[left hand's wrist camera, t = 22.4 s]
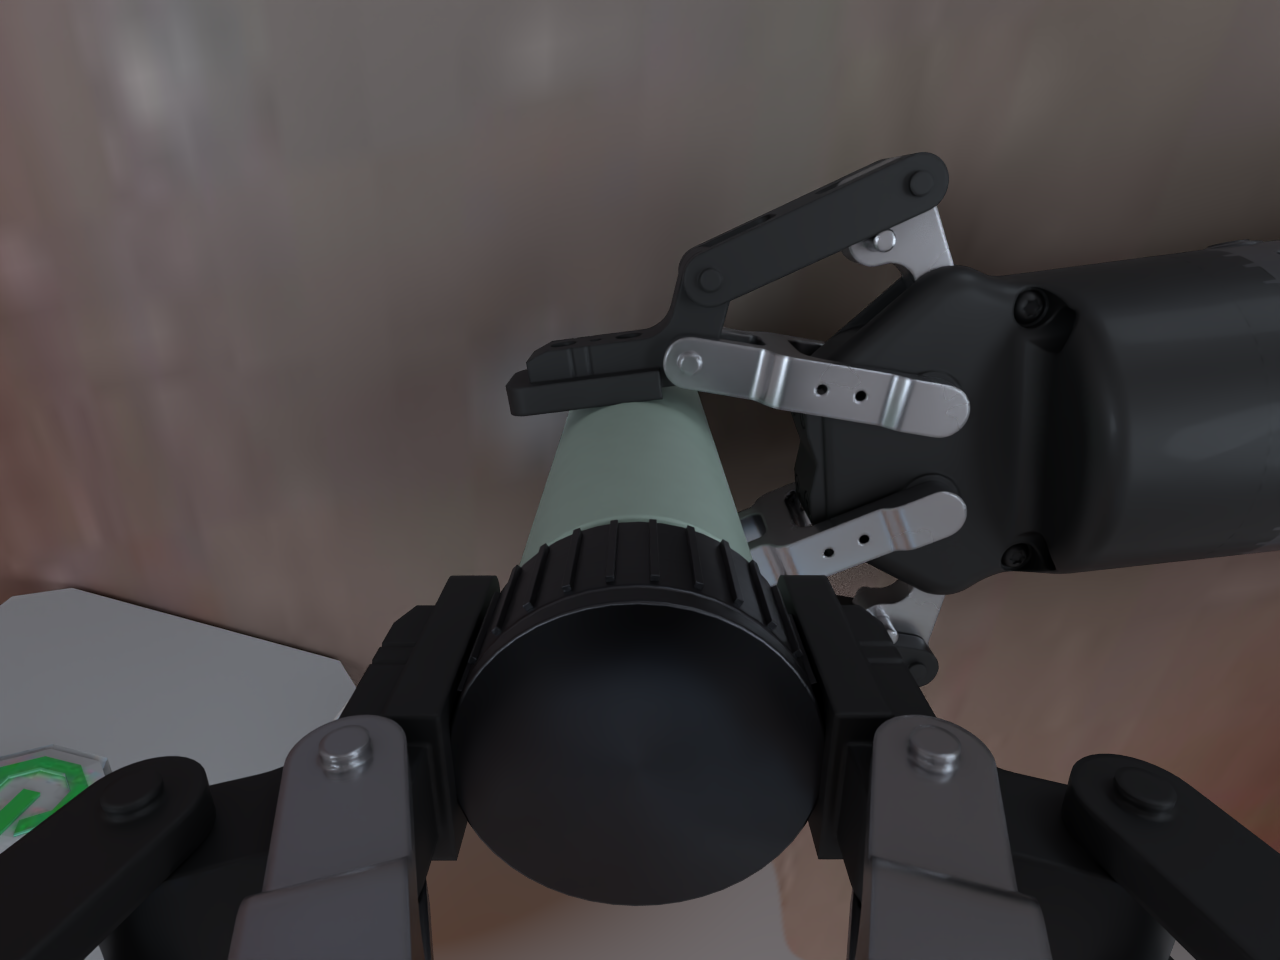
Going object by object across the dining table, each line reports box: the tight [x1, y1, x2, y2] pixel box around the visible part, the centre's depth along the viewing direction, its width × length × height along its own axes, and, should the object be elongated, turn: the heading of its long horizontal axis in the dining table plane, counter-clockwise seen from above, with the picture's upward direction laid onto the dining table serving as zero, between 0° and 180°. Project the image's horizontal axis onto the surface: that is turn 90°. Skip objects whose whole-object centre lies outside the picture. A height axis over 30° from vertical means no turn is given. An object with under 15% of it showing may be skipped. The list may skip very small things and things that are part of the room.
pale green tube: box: [519, 386, 753, 567], centre depth 17 cm, size 4×4×16 cm
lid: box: [450, 519, 825, 906], centre depth 10 cm, size 5×5×2 cm
